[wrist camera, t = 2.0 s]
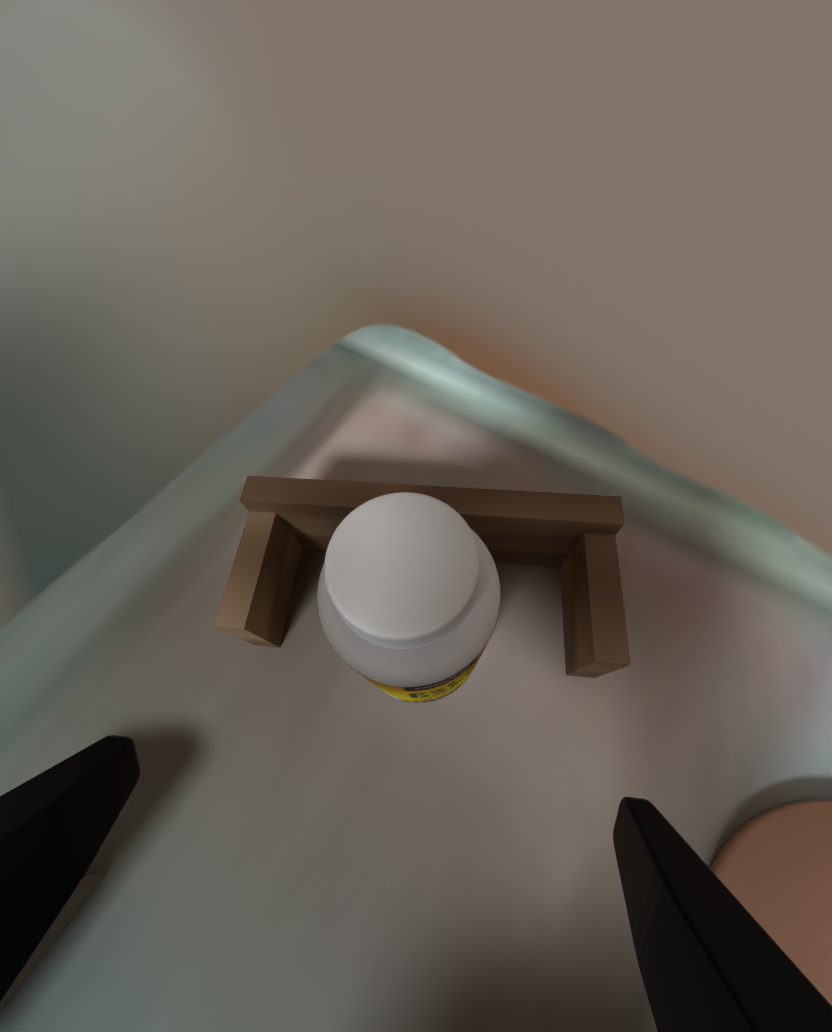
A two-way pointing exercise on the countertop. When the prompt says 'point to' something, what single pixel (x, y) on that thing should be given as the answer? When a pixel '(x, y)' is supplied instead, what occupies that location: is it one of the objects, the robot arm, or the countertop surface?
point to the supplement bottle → (408, 595)
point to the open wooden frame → (489, 513)
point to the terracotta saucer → (787, 881)
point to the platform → (55, 929)
